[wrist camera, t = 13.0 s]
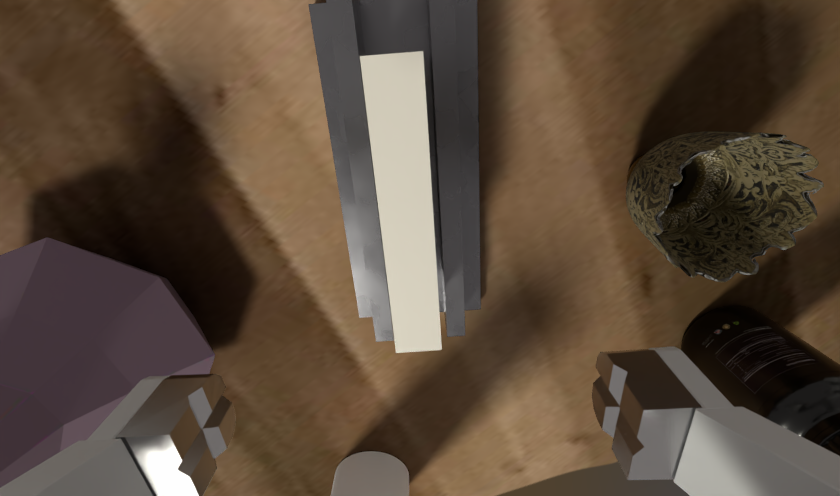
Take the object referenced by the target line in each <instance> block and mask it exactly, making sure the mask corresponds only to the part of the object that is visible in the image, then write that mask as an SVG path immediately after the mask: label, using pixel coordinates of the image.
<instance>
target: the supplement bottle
mask: <svg viewBox="0 0 840 496" xmlns="http://www.w3.org/2000/svg"><path fill="white" fill-rule="evenodd" d="M681 350H682V352H683V353H684V354H685V355H686V356H687V357H688V358H689V359H690V360H691V361H692V362H693V363H694V364H695V365H696V367H697V368H698V369H699V370H700V371H701V372H702V373H703V374H704V375H705V376H706V377H707V378H708V379H709V380H710V382H711V383H712V384H713V385H714V386H715V387H716V388H717V389H718V390H719V391H720V392H721V393H722V394H723V395H724V397H725V398H726V399H727V400H728V401H729V402H730V403H731V404H732V405H733V406H734V407H744V408H746V409H748V410H750V411H752V412H754V413H756V414H758V415H760V416H762V417H764V418H766V419H768V420H770V421H772V422H774V423H776V424H778V425H780V426H782V427H784V428H786V429H788V430H790V431H792V432H793V433H795V434H797V435H799V436H801V437H803V438H805V439H807V440H809V441H811V442H813V443H815V444H817V445H819V446H821V447H823V448H825V449H827V450H829V451H831V452H833V453H835V454H837V455H839V456H840V365H839V364H838V363H836V362H835V361H833V360H832V359H830V358H829V357H827V356H826V355H824V354H823V353H821V352H820V351H818V350H817V349H815V348H814V347H812V346H811V345H809V344H808V343H806V342H805V341H803V340H802V339H800V338H799V337H797V336H796V335H794V334H793V333H791V332H790V331H788V330H787V329H785V328H784V327H782V326H781V325H779V324H778V323H776V322H775V321H773V320H772V319H770V318H769V317H767V316H766V315H764V314H763V313H761V312H759V311H757V310H755V309H753V308H750V307H746V306H726V307H721V308H718V309H715V310H712V311H710V312H708V313H706V314H705V315H703V316H701V317H700V318H699V319H697V320H696V321H695V322H694V323H693V324H692V325H691V326H690V327H689V329H688V330H687V332H686V334H685V335H684V338H683V340H682V345H681Z"/></svg>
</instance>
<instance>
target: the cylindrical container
mask: <svg viewBox="0 0 840 496" xmlns="http://www.w3.org/2000/svg"><path fill="white" fill-rule="evenodd" d="M331 496H409V472H408V469H407V468H406V466H405V465H404V464H403V463H402V462H401V461H400V460H399V459H397V458H396V457H394V456H392V455H389V454H387V453H383V452H376V451H365V452H359V453H356V454H353V455H351V456H349V457H347V458H345V459H344V460H343V461H341V463H340V464H339V465H338V467H337V469H336V472H335V477H334V482H333V487H332V492H331Z"/></svg>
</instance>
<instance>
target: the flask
mask: <svg viewBox="0 0 840 496" xmlns="http://www.w3.org/2000/svg"><path fill="white" fill-rule="evenodd" d="M214 357H215V354H214V352H213V350H212V348H211V346H210V345H209V343H208V341H207V339H206V337H205V336H204V334H203V332H202V330H201V328H200V327H199V325H198V323H197V321H196V319H195V317H194V316H193V314H192V313H191V312H190V310H189V309H188V307H187V306H186V305H185V303H184V302H183V300H182V299H181V298H180V296H179V295H178V293H177V292H176V291H175V289H174V288H173V286H172V285H171V284H170V282H169V281H168V279H167V278H164V277H161V276H159V275H156V274H153V273H150V272H148V271H145V270H142V269H139V268H137V267H134V266H131V265H128V264H125V263H123V262H120V261H117V260H114V259H111V258H108V257H105V256H102V255H99V254H96V253H93V252H90V251H87V250H84V249H81V248H78V247H75V246H72V245H69V244H66V243H63V242H60V241H57V240H54V239H51V238H48V237H47V238H44V239H41V240H39V241H36V242H34V243H31V244H28V245H26V246H23V247H21V248H18V249H16V250H13V251H10V252H8V253H5V254H3V255H0V488H1V487H2V486H4V485H6V484H7V483H9V482H11V481H12V480H14V479H16V478H17V477H19V476H21V475H22V474H24V473H26V472H27V471H29V470H31V469H32V468H34V467H36V466H37V465H39V464H41V463H42V462H44V461H46V460H47V459H49V458H51V457H52V456H54V455H56V454H57V453H59V452H61V451H62V450H64V449H66V448H67V447H69V446H71V445H72V444H74V443H76V442H77V441H84V440H87V439H88V438H89V437H90V436H91V435H92V434H93V432H94V431H95V430H96V429H97V428H98V427H99V426H100V425H101V424H102V422H103V421H104V420H105V419H106V418H107V417H108V416H109V415H110V414H111V413H112V411H113V410H114V409H115V408H116V407H117V406H118V405H119V404H120V403H121V401H122V400H123V399H124V398H125V397H126V396H127V395H128V394H129V393H130V392H131V390H132V389H133V388H134V387H135V386H136V385H137V384H138V383H139V382H140V380H142V379H145V378H147V377H149V376H171V375H194V374H209V372H210V369H211V366H212V363H213V360H214Z"/></svg>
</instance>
